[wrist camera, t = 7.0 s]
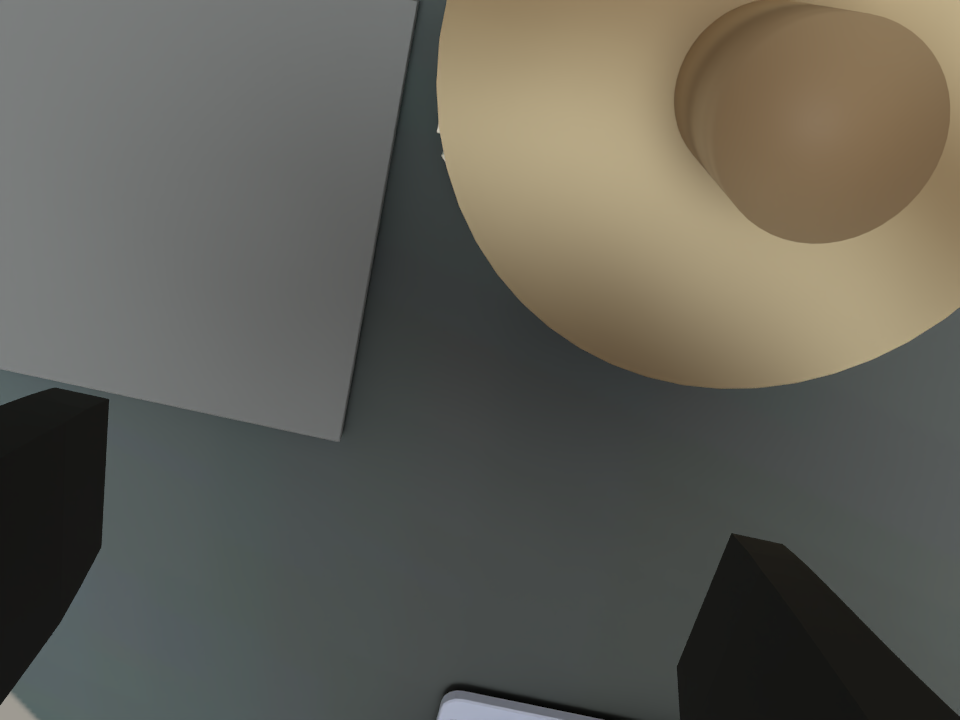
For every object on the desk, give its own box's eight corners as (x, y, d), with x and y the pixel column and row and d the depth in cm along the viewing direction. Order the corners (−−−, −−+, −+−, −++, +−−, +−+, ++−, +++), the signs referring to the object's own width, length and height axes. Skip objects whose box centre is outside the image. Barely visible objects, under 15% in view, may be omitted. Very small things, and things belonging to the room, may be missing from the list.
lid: (889, 428, 18) (999, 570, 14) (378, 277, 17) (330, 381, 13) (1215, -156, 13) (1519, -206, 9) (553, -391, 13) (565, -559, 9)
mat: (342, 433, 22) (339, 442, 21) (-72, 344, 21) (-82, 351, 21) (419, 0, 18) (417, 0, 17) (-92, -122, 17) (-105, -124, 17)
